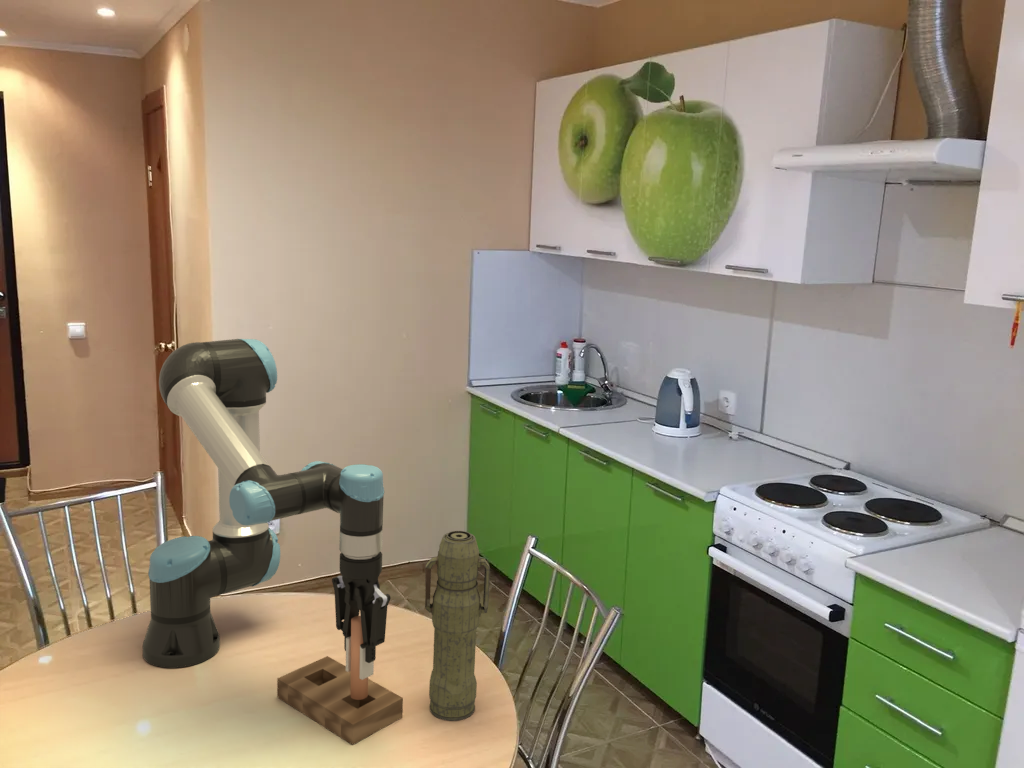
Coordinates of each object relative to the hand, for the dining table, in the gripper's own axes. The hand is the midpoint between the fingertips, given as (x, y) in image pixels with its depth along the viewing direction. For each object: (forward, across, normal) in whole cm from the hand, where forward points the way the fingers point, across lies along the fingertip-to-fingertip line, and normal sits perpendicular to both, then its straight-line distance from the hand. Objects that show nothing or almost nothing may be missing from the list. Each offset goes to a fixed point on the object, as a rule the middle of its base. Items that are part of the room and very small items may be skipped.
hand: (359, 672), depth 161 cm
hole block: (+9, +6, 0) cm, 11 cm away
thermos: (+10, -10, -15) cm, 20 cm away
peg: (+5, 0, 0) cm, 5 cm away
